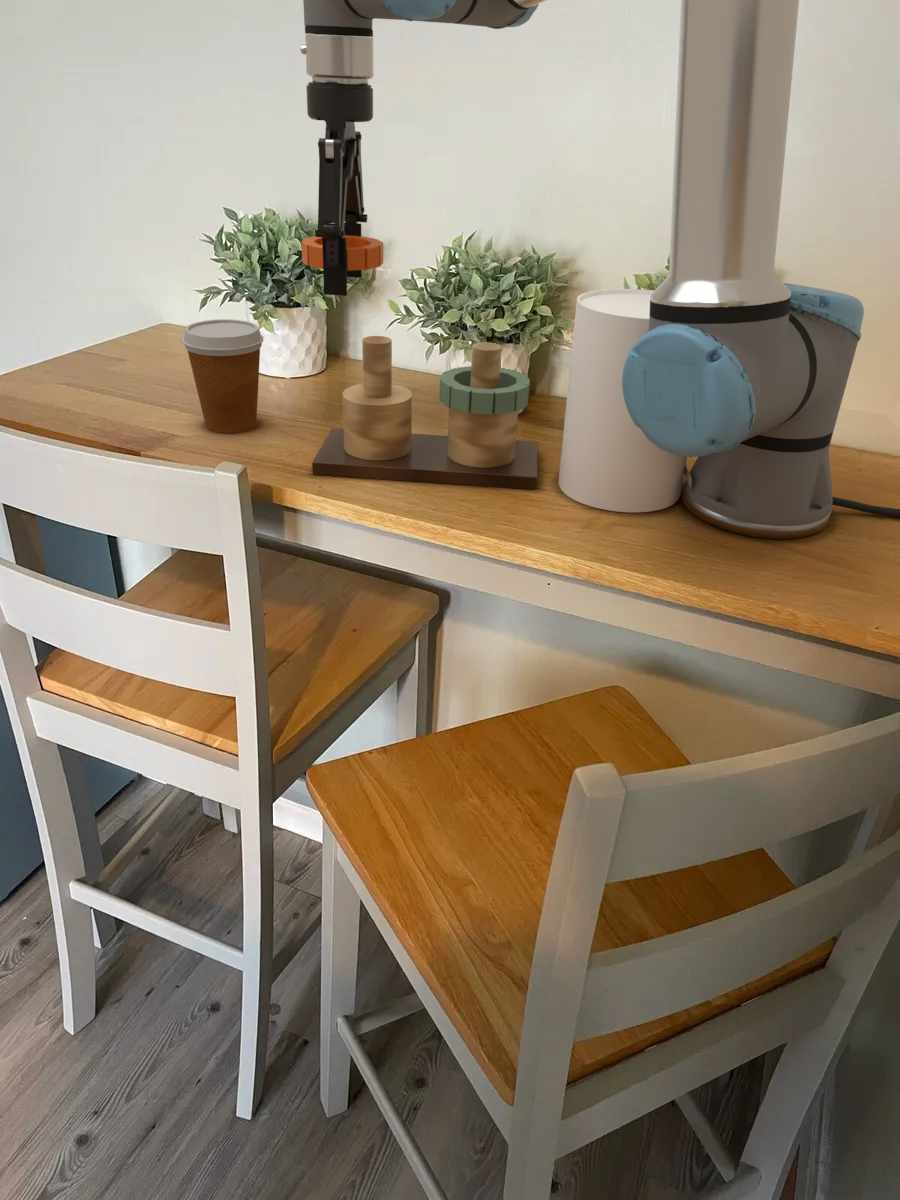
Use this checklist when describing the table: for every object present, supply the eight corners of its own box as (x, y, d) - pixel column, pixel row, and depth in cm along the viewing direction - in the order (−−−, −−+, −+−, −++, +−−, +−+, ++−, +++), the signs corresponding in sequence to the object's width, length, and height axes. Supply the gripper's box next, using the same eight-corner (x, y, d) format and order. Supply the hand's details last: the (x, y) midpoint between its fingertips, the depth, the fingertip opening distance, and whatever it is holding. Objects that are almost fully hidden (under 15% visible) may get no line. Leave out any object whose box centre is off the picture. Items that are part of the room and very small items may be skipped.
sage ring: (528, 389, 104) (530, 368, 103) (527, 417, 96) (529, 395, 94) (444, 384, 104) (444, 363, 103) (435, 411, 96) (436, 389, 95)
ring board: (536, 453, 108) (546, 336, 101) (536, 489, 99) (547, 364, 92) (332, 439, 110) (328, 323, 103) (312, 474, 100) (306, 349, 93)
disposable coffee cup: (227, 443, 107) (217, 343, 101) (176, 425, 112) (163, 328, 106) (285, 423, 114) (279, 328, 108) (234, 406, 119) (226, 314, 113)
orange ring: (387, 257, 116) (387, 237, 114) (375, 272, 107) (375, 251, 106) (312, 252, 116) (311, 233, 115) (294, 267, 108) (293, 246, 106)
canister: (541, 496, 98) (558, 307, 87) (579, 456, 108) (599, 283, 98) (664, 522, 93) (697, 326, 83) (691, 477, 103) (724, 298, 93)
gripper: (327, 77, 111) (331, 265, 123) (282, 81, 92) (293, 303, 104) (387, 80, 111) (386, 269, 122) (355, 85, 92) (357, 308, 103)
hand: (343, 285), depth 113 cm, fingers closed on orange ring, 10 cm apart
